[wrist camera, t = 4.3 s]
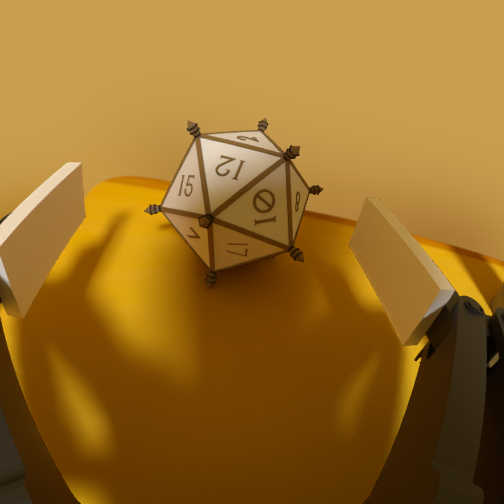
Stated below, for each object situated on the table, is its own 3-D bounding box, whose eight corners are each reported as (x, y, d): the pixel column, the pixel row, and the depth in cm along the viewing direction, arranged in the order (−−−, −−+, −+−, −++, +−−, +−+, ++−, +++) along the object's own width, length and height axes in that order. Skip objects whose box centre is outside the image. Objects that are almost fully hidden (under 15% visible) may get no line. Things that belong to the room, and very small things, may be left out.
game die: (218, 281, 22) (260, 153, 23) (316, 321, 16) (364, 155, 17) (104, 251, 16) (166, 91, 16) (184, 305, 10) (274, 53, 10)
